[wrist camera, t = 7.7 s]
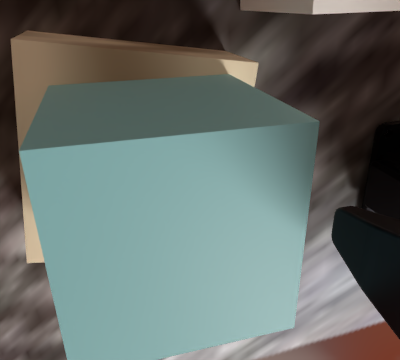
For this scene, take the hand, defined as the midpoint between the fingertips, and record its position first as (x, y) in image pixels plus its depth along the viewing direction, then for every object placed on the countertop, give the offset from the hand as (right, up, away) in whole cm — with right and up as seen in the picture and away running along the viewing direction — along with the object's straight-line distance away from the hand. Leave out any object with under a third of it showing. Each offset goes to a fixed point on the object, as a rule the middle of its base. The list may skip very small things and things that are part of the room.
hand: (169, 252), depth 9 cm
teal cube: (-1, +2, +5) cm, 6 cm away
